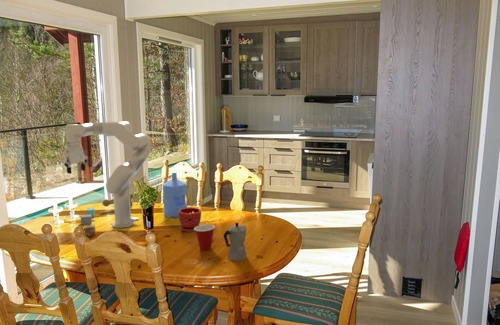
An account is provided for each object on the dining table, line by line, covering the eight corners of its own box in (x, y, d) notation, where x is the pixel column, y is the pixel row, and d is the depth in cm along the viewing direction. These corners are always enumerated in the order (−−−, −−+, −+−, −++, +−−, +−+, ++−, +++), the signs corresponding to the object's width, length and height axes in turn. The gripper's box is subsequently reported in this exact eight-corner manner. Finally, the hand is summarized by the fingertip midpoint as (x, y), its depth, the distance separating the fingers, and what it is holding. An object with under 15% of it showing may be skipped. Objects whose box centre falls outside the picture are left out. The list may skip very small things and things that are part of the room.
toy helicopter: (134, 206, 294) (133, 188, 292) (106, 213, 280) (104, 193, 278) (128, 204, 300) (127, 186, 298) (101, 210, 286) (99, 191, 284)
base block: (91, 221, 263) (91, 214, 262) (91, 224, 258) (90, 216, 258) (81, 222, 261) (81, 215, 260) (81, 225, 257) (80, 217, 256)
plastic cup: (205, 243, 225) (204, 222, 223) (219, 247, 219) (219, 226, 216) (190, 249, 217) (189, 227, 215) (204, 254, 210) (204, 231, 208)
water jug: (159, 216, 272) (157, 175, 266) (170, 209, 286) (169, 170, 281) (181, 218, 267) (179, 176, 262) (191, 211, 282) (190, 171, 277)
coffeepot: (239, 250, 214) (239, 217, 211) (253, 255, 208) (252, 221, 205) (218, 260, 203) (217, 225, 200) (231, 265, 197) (230, 229, 194)
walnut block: (95, 232, 243) (94, 224, 242) (95, 235, 239) (94, 227, 238) (84, 233, 241) (83, 225, 240) (84, 236, 237) (83, 228, 236)
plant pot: (197, 233, 240) (196, 214, 237) (176, 232, 242) (175, 212, 240) (204, 226, 252) (203, 207, 250) (184, 225, 255) (183, 206, 253)
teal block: (94, 214, 278) (94, 207, 277) (94, 217, 272) (94, 209, 271) (87, 215, 276) (87, 208, 276) (87, 217, 271) (86, 210, 270)
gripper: (64, 146, 242) (67, 175, 245) (89, 142, 256) (92, 169, 259) (57, 145, 246) (59, 173, 249) (82, 142, 260) (84, 168, 263)
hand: (76, 171), depth 254 cm, fingers open, 9 cm apart
